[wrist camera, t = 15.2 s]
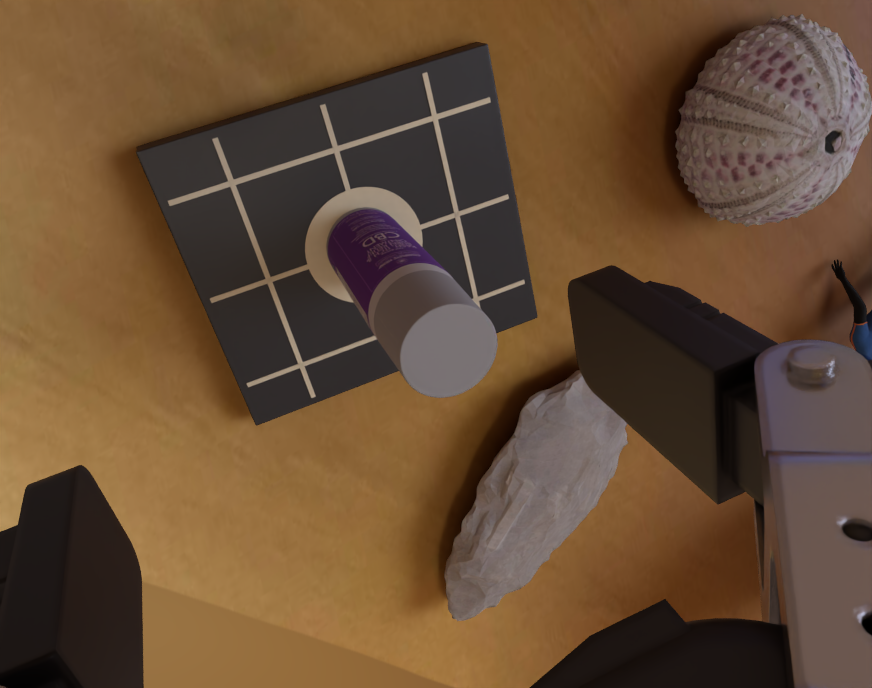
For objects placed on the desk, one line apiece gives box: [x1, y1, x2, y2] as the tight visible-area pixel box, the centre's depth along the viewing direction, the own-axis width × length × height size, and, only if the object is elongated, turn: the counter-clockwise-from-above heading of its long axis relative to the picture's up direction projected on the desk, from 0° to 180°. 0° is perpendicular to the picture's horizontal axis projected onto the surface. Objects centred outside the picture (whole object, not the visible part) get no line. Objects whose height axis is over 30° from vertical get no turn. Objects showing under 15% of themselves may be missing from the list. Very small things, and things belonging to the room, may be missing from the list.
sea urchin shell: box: [675, 14, 872, 227], centre depth 48 cm, size 13×14×8 cm
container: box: [326, 207, 497, 398], centre depth 38 cm, size 5×5×15 cm
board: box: [136, 42, 537, 425], centre depth 45 cm, size 20×18×2 cm
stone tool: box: [444, 370, 628, 621], centre depth 56 cm, size 12×5×25 cm
